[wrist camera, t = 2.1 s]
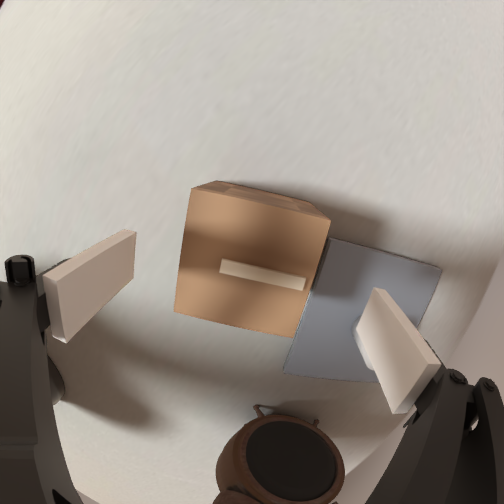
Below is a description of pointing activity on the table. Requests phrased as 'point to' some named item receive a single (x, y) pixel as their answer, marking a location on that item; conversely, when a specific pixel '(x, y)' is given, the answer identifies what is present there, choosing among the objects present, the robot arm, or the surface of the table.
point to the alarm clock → (279, 464)
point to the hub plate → (353, 308)
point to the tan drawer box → (248, 257)
